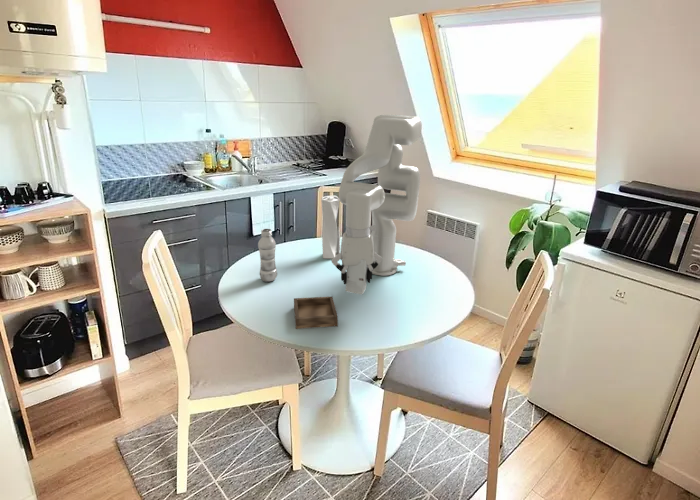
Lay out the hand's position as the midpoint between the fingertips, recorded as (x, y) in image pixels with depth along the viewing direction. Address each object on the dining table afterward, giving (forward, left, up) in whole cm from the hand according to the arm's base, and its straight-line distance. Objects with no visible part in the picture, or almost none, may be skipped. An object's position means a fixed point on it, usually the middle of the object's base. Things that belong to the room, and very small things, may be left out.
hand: (356, 281), depth 141 cm
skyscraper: (+2, -47, -12) cm, 49 cm away
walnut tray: (+13, +1, -12) cm, 18 cm away
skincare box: (0, 0, -4) cm, 4 cm away
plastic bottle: (+28, -27, -12) cm, 41 cm away
